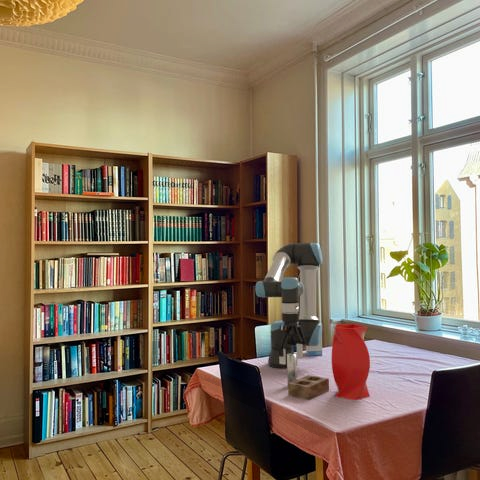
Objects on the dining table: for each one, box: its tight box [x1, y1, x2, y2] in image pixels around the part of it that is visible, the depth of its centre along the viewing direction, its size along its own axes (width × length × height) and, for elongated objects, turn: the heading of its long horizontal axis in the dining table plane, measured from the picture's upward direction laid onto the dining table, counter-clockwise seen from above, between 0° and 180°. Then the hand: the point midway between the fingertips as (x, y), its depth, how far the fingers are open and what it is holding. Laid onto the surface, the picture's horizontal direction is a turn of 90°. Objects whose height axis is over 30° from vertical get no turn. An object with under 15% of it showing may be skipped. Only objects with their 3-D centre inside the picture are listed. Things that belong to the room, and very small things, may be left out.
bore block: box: [287, 374, 330, 401], centre depth 193 cm, size 10×16×5 cm, turn 140°
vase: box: [331, 323, 371, 401], centre depth 190 cm, size 15×14×28 cm
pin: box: [286, 352, 298, 384], centre depth 203 cm, size 4×4×14 cm
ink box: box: [305, 337, 323, 356], centre depth 267 cm, size 9×8×13 cm
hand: (291, 361), depth 203 cm, fingers open, 13 cm apart
